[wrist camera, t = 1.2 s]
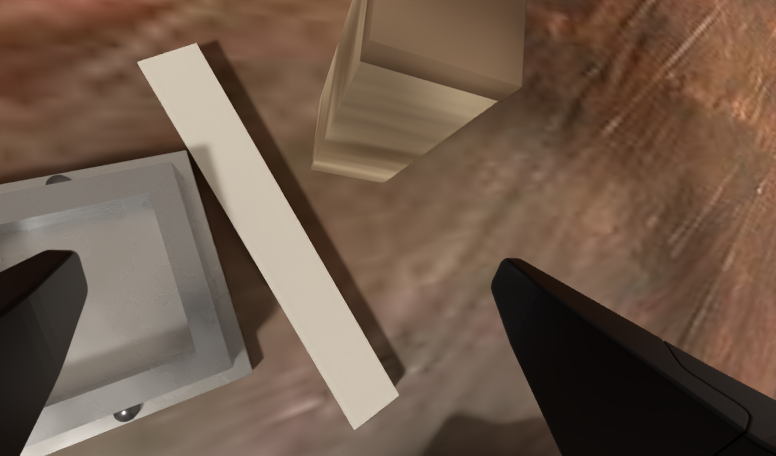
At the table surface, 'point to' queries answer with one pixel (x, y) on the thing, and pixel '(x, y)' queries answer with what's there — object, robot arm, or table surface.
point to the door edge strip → (270, 230)
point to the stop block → (413, 79)
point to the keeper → (128, 292)
